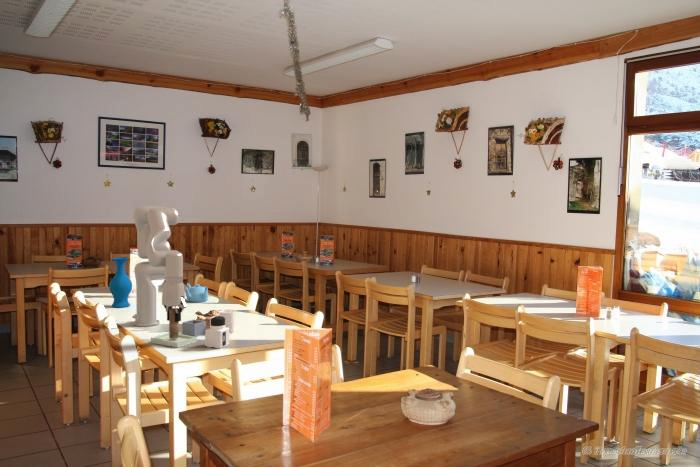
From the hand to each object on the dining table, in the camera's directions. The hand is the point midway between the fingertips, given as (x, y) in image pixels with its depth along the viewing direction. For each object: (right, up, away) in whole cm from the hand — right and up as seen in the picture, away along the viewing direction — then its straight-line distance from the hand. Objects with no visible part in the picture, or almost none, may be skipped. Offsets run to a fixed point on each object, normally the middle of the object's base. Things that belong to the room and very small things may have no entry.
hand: (173, 320), depth 270 cm
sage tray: (0, -10, +1) cm, 10 cm away
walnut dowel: (0, -8, +1) cm, 8 cm away
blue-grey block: (+5, -9, +16) cm, 19 cm away
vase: (-54, -3, +79) cm, 96 cm away
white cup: (+19, -9, +23) cm, 31 cm away
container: (+20, -11, -4) cm, 23 cm away
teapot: (-16, -3, +101) cm, 102 cm away
